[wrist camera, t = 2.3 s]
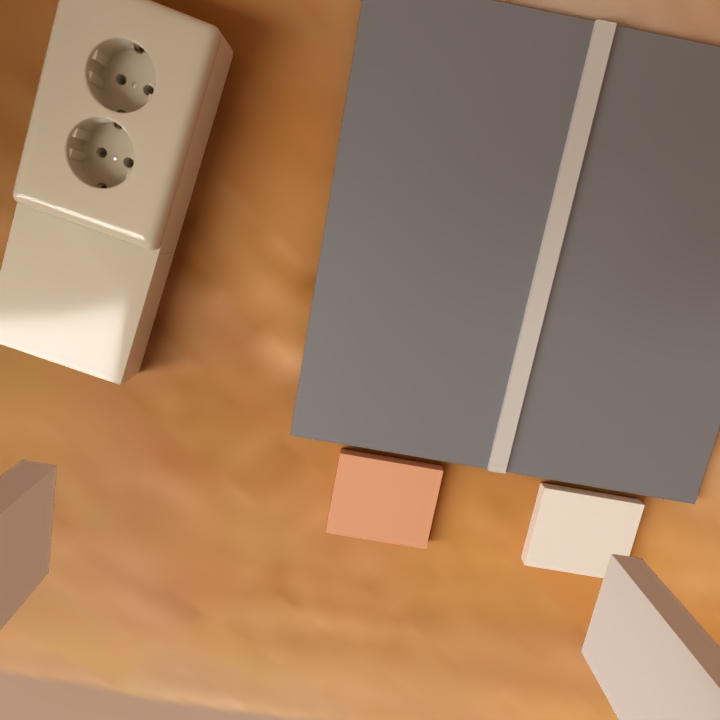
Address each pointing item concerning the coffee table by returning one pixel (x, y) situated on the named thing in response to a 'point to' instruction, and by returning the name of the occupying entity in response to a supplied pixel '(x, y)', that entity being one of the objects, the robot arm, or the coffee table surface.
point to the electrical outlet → (107, 180)
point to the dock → (518, 272)
